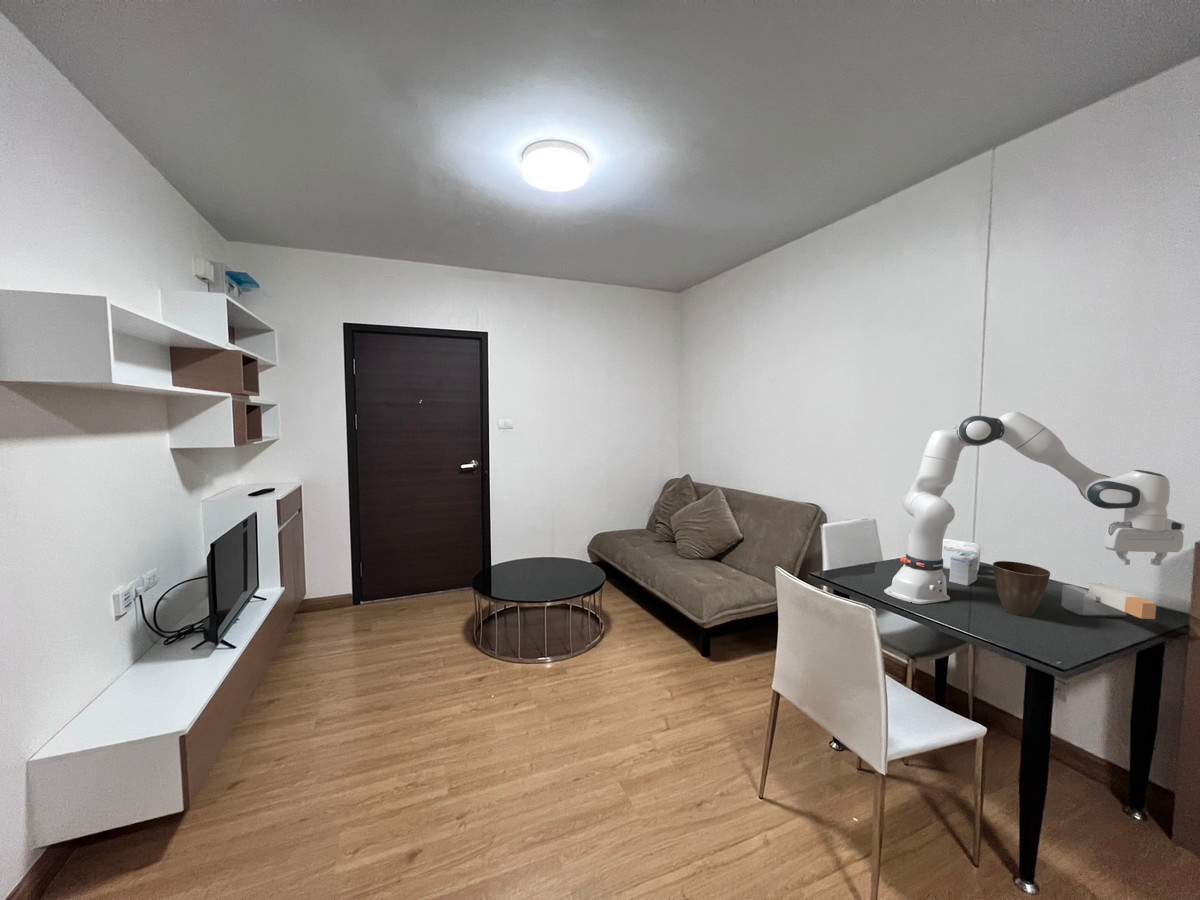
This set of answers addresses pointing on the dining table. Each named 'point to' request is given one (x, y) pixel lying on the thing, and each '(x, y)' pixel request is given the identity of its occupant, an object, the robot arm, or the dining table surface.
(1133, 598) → the plug
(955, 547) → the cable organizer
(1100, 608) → the housing
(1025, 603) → the plant pot
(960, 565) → the light bulb box
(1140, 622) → the dining table surface
